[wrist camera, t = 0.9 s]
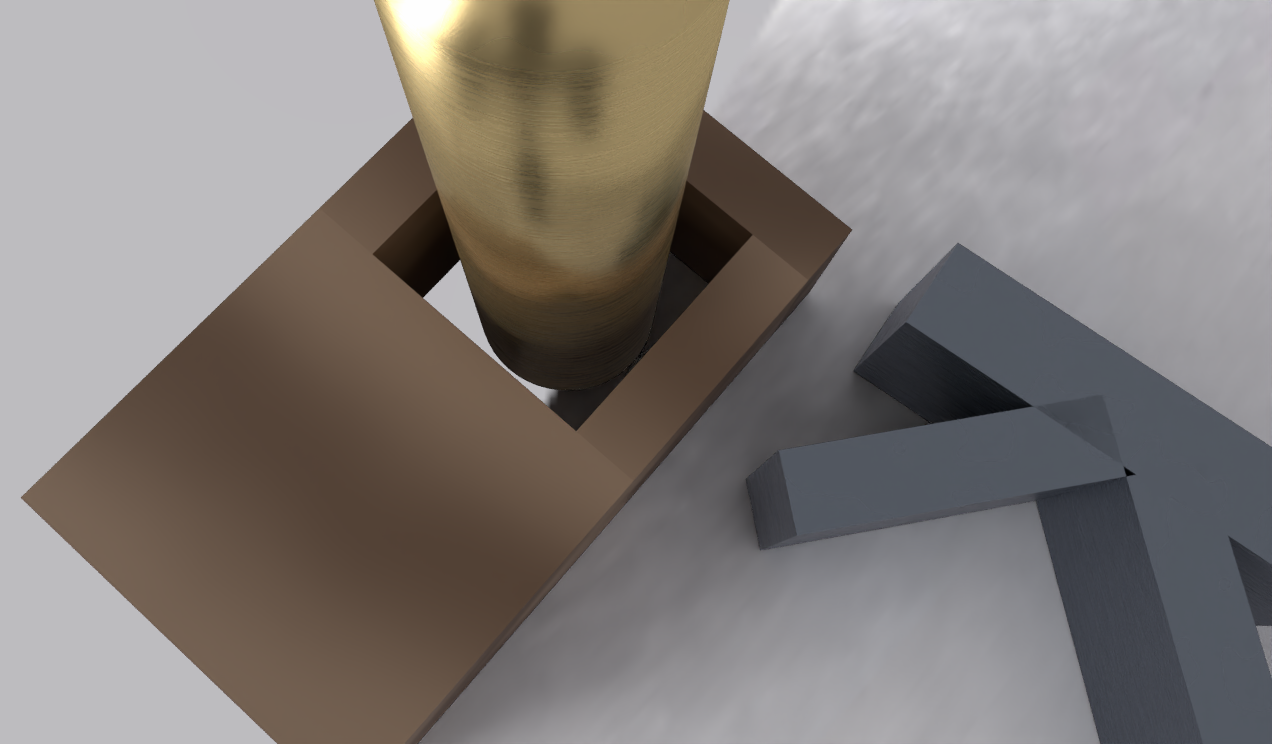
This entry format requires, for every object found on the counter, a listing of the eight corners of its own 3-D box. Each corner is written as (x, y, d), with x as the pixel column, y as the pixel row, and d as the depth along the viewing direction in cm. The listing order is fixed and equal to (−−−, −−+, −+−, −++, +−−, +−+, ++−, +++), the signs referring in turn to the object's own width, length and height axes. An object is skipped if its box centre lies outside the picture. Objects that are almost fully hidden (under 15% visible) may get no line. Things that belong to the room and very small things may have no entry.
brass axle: (574, 426, 23) (566, 150, 10) (444, 312, 24) (261, -102, 10) (689, 299, 24) (828, -118, 11) (560, 192, 25) (535, -340, 11)
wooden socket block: (388, 775, 21) (346, 810, 17) (118, 519, 22) (20, 497, 18) (808, 292, 24) (851, 229, 20) (554, 83, 25) (549, -15, 21)
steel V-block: (1161, 830, 22) (1287, 876, 18) (717, 520, 23) (745, 500, 19) (1297, 567, 23) (1439, 556, 19) (874, 287, 24) (929, 224, 21)
